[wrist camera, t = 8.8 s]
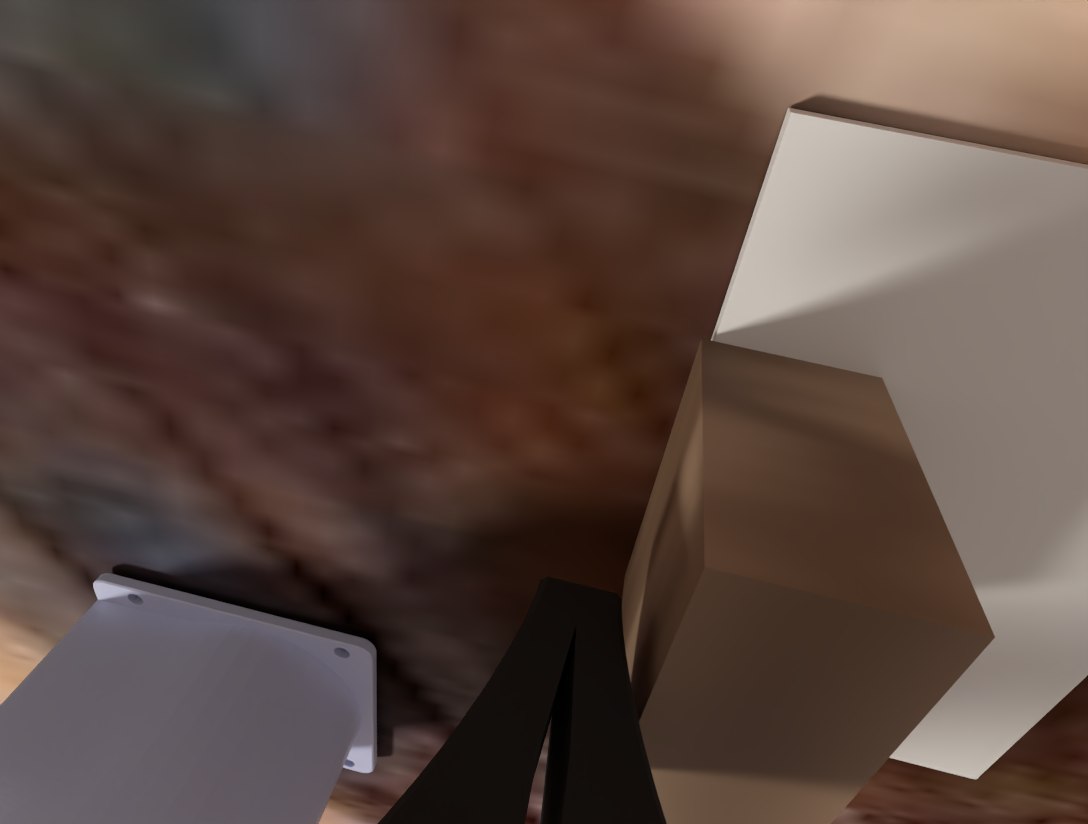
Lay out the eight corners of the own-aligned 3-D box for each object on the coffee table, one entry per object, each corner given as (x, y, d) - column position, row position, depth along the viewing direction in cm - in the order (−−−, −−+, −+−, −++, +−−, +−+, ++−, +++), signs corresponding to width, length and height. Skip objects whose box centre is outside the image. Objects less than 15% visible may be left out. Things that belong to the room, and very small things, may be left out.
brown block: (624, 575, 17) (596, 821, 12) (701, 338, 13) (704, 566, 8) (761, 608, 17) (786, 872, 12) (882, 378, 13) (994, 637, 8)
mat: (600, 672, 20) (599, 683, 20) (787, 107, 11) (791, 112, 11) (971, 766, 20) (976, 779, 19) (1510, 246, 10) (1537, 254, 10)
